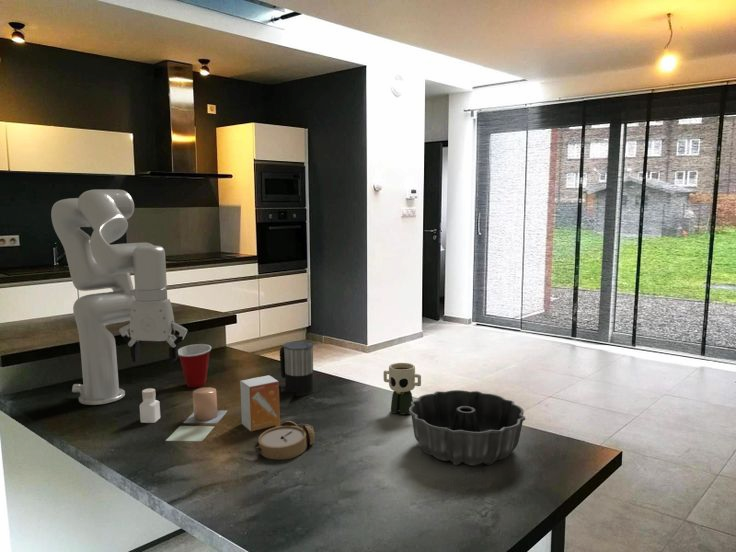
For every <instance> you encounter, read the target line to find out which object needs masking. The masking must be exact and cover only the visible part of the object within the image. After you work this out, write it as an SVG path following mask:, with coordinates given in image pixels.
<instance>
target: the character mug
mask: <svg viewBox="0 0 736 552" xmlns="http://www.w3.org/2000/svg"><path fill="white" fill-rule="evenodd" d="M416 379H417V382H416ZM383 382H385V383H388V385H389V388H390V390H392V391H393V393H392V395H391V396H392V397H391V403H390V411H391V413H394V414H398V413H397V412H399V415H407V414H410V413H409V408H410V407H411V402H412V401H414V398H413V394H412V391H413V390H414V389H415V387H421V386H422V375H421V374H418V373H416V366H415V365H414V364H413V363H409V362H396V363H395V362H394V363H391V364H390V365H389V366H388V370H386V369H385V370H383Z"/></svg>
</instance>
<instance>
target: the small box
mask: <svg viewBox="0 0 736 552" xmlns="http://www.w3.org/2000/svg"><path fill="white" fill-rule="evenodd" d="M239 384H240V406H241V407H240V409H241V411H240V412H241V425H242V426H244V427H245V428H246V429H247V430H249V431H250V432H253V431H254V432H255V431H257V430H258V431H260V430H262V429H266V428H270V427H278V426H281V415H280V409H281V408H280V392H279V388H280V387H279V386H280V383H279V380H277V379H275V377H273V376H271V375H264V376H263V375H262V376H257V377H252V378H249V379H243V380H240V381H239Z"/></svg>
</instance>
